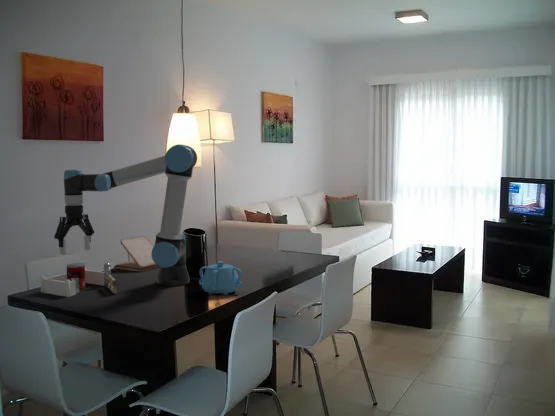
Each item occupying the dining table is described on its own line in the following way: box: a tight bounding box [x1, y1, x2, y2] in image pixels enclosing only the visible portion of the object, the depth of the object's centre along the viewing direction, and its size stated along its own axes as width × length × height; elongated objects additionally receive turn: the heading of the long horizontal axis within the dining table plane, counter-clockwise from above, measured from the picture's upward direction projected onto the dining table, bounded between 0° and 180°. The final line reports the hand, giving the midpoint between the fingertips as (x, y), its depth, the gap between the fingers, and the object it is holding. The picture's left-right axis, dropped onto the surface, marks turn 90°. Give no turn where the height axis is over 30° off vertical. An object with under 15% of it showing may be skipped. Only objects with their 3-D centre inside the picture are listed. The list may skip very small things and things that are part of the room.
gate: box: [106, 274, 118, 295], centre depth 244 cm, size 15×1×6 cm, turn 27°
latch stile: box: [71, 277, 80, 294], centre depth 240 cm, size 2×2×6 cm
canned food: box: [66, 262, 86, 291], centre depth 247 cm, size 8×8×11 cm
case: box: [113, 235, 160, 273], centre depth 297 cm, size 20×21×16 cm
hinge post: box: [103, 262, 112, 287], centre depth 253 cm, size 3×3×11 cm
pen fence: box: [40, 266, 105, 298], centre depth 247 cm, size 17×25×7 cm
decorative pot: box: [198, 260, 243, 296], centre depth 242 cm, size 16×16×14 cm
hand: (75, 252), depth 246 cm, fingers open, 13 cm apart
